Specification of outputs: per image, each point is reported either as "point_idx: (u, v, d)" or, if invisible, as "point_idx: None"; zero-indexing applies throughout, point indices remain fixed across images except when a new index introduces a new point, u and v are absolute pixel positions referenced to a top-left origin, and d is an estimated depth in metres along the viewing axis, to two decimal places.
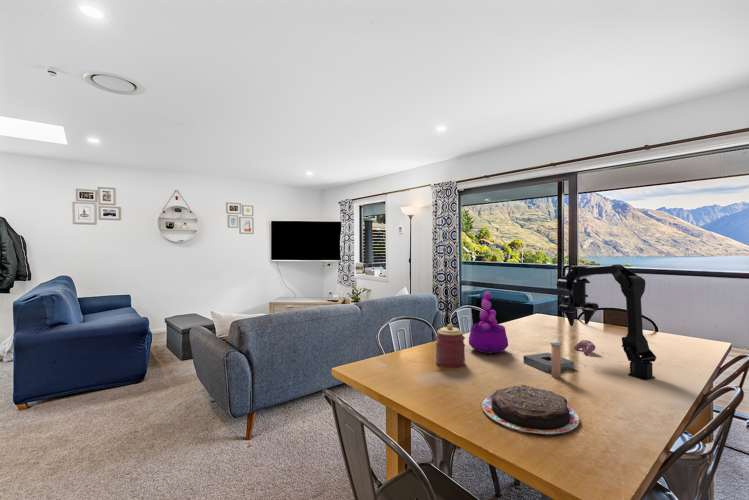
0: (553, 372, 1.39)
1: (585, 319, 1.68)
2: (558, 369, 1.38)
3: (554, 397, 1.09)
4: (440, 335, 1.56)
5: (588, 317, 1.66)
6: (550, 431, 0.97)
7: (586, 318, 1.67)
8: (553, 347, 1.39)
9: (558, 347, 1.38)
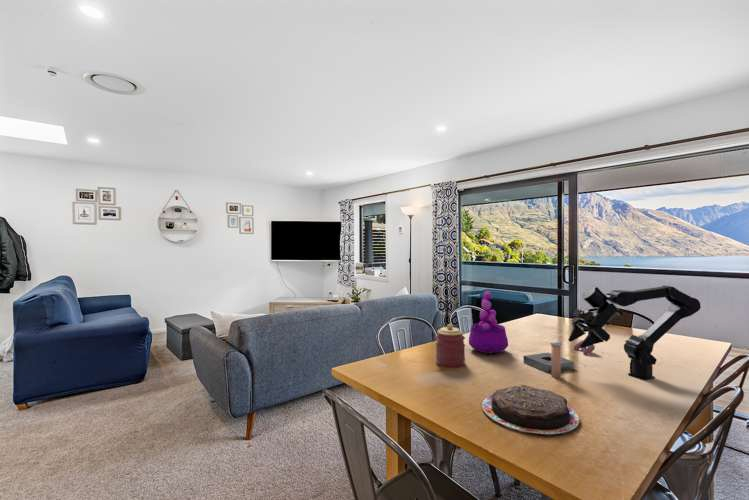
0: (553, 372, 1.39)
1: (572, 336, 1.45)
2: (558, 369, 1.38)
3: (554, 397, 1.09)
4: (440, 335, 1.56)
5: (577, 336, 1.45)
6: (550, 431, 0.97)
7: (574, 336, 1.45)
8: (553, 347, 1.39)
9: (558, 347, 1.38)
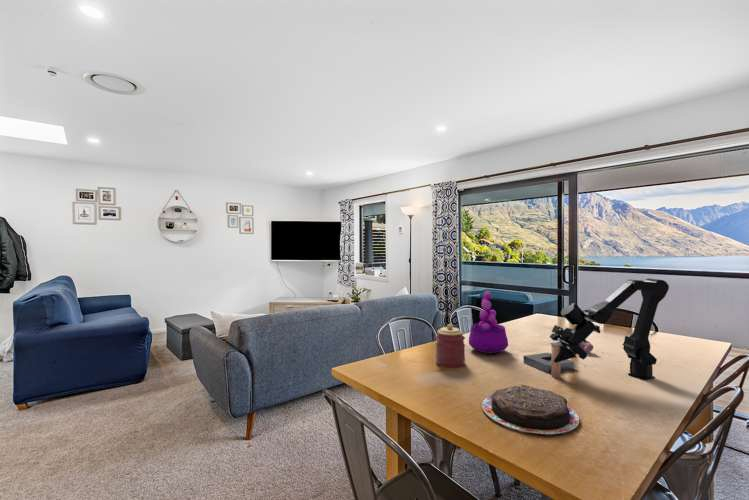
0: (553, 372, 1.39)
1: None
2: (558, 369, 1.38)
3: (554, 397, 1.09)
4: (440, 335, 1.56)
5: None
6: (550, 431, 0.97)
7: None
8: (553, 347, 1.39)
9: (558, 347, 1.38)
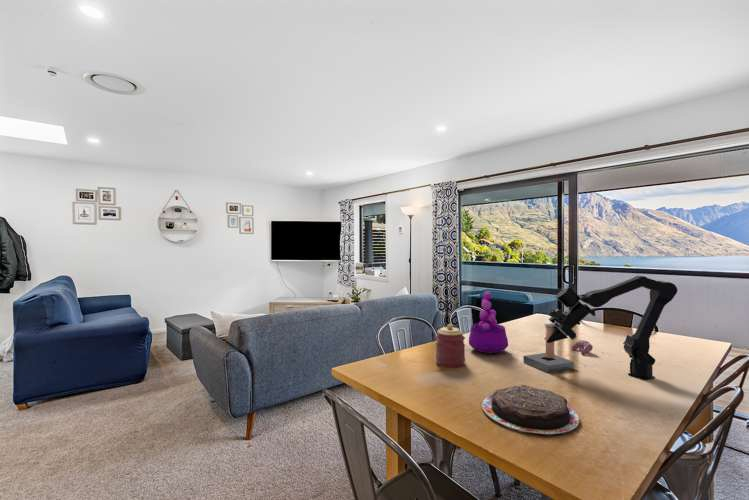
0: (546, 352, 1.46)
1: None
2: (551, 349, 1.45)
3: (554, 397, 1.09)
4: (440, 335, 1.56)
5: None
6: (550, 431, 0.97)
7: None
8: (546, 328, 1.46)
9: (551, 328, 1.45)
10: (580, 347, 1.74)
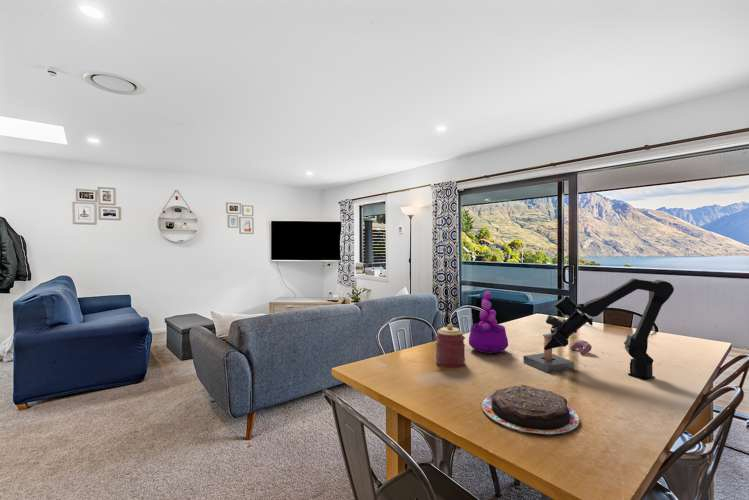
0: None
1: None
2: (548, 358, 1.52)
3: (554, 397, 1.09)
4: (440, 335, 1.56)
5: None
6: (550, 431, 0.97)
7: None
8: (544, 338, 1.53)
9: (548, 338, 1.52)
10: (579, 347, 1.74)
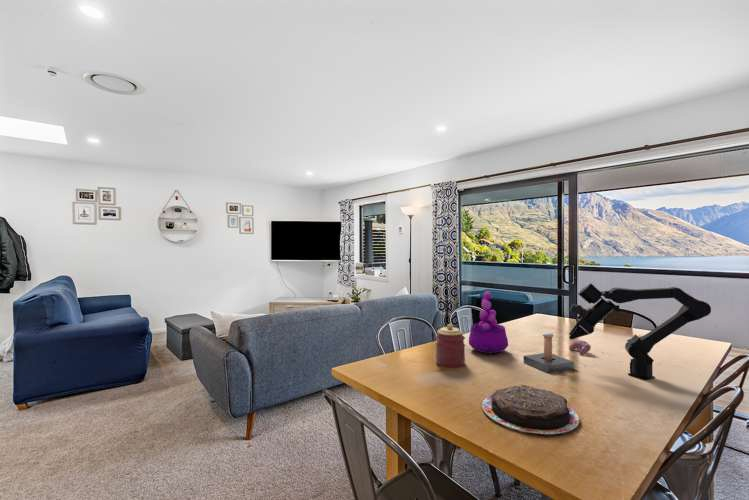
0: None
1: (573, 331, 1.53)
2: (548, 358, 1.52)
3: (554, 397, 1.09)
4: (440, 335, 1.56)
5: None
6: (550, 431, 0.97)
7: None
8: (544, 338, 1.53)
9: (548, 338, 1.52)
10: (578, 347, 1.74)
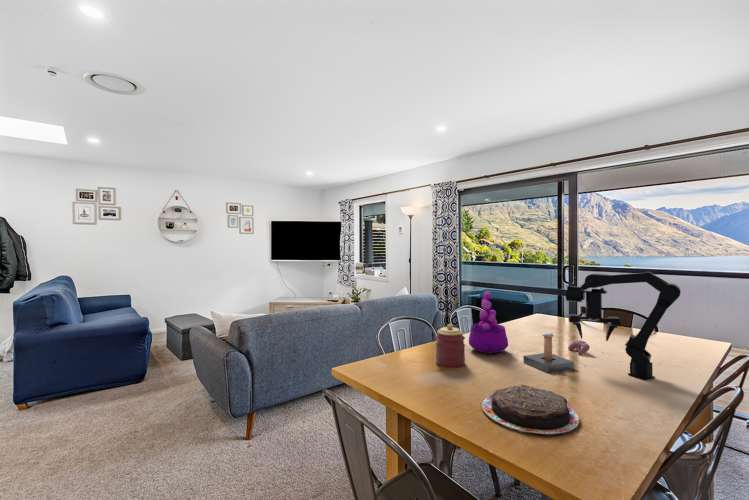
0: None
1: (606, 335, 1.48)
2: (548, 358, 1.52)
3: (554, 397, 1.09)
4: (440, 335, 1.56)
5: (607, 333, 1.47)
6: (550, 431, 0.97)
7: (606, 334, 1.48)
8: (544, 338, 1.53)
9: (548, 338, 1.52)
10: (577, 347, 1.74)
